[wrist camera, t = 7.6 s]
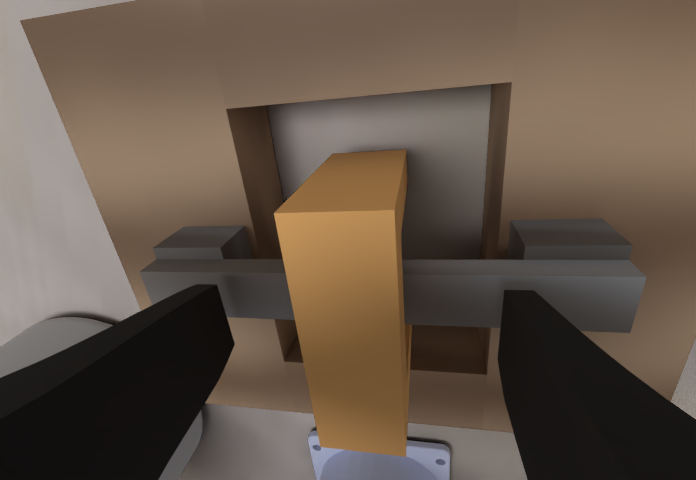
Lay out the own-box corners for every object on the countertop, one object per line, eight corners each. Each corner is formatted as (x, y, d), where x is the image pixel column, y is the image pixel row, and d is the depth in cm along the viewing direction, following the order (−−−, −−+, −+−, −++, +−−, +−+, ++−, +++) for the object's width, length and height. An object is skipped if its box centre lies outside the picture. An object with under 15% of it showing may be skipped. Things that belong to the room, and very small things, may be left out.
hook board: (615, 382, 16) (698, 521, 11) (210, 356, 20) (143, 449, 15) (748, -75, 9) (1103, -224, 4) (99, 28, 13) (-83, 10, 9)
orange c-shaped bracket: (411, 328, 15) (406, 456, 10) (352, 326, 16) (320, 447, 11) (406, 149, 12) (394, 210, 7) (332, 153, 12) (274, 213, 8)
